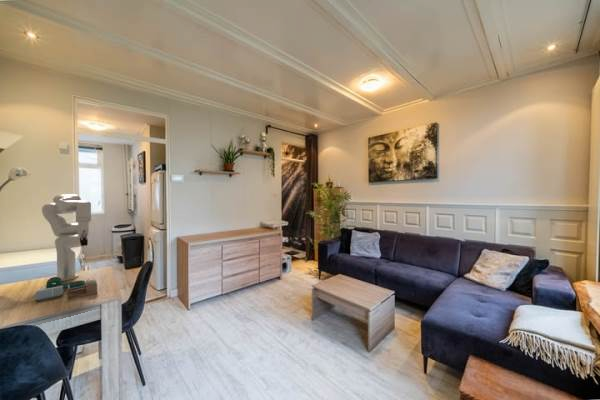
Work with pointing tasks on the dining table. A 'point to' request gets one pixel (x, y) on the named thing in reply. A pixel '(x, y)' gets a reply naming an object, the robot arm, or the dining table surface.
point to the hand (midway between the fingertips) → (83, 244)
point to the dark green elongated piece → (65, 286)
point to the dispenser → (83, 289)
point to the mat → (48, 298)
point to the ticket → (49, 292)
